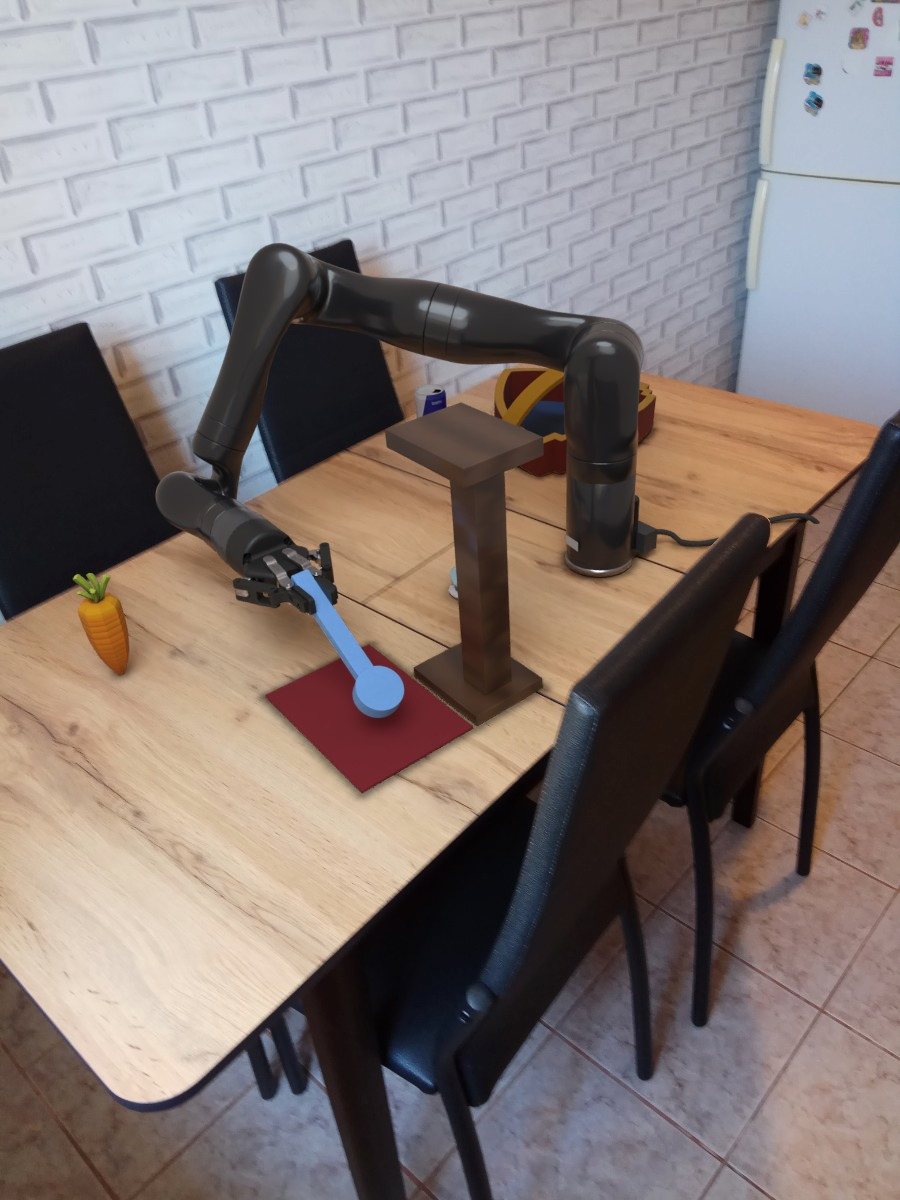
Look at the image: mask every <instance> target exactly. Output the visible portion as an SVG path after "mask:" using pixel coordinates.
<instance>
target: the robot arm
mask: <svg viewBox="0 0 900 1200" xmlns="http://www.w3.org/2000/svg"><path fill="white" fill-rule="evenodd" d="M235 313H236V314H235V317H234V322H233V324H232V329H231V333H230V336H229V339H228V343H227V346H226V350H225V352H224V353H225V354H224V357H223V361H222V363H221V366H220V369H219V372H218V374H217V378H216V381H215V382H214V386H213V388H212V391H211V393H210V396H209V398H208V401H207V403H206V405H205V408H204V410H203V412H202V415H201V417H200V420H199V423H198V425H197V427H196V430H195V432H194V435H193V438H192V441H191V451H192V453H193V454H194V455H195V456H196V457H197V458H198V459H200V460H201V461H202V462H205V463H207V464H209V465H210V466H211V469H212V472H211V476H210V478H209V477H206V476H203V475H199V474H195V473H191V472H187V471H180V470H179V471H172V472H169V473H168V474H167V475H164V477H163V478H161V480H160V481H159V482H158V484H157V486H156V490H155V495H154V497H155V498H154V499H155V505H156V509H157V510H158V512H159V514H160V515H161V518H163V519H164V520H165V521H166V522H167V523H169V524H171V525H172V526H174V527H175V528H177V529H179V530H180V531H183V532H184V533H187V534H189V535H191V536H194V537H196V538H197V539H199V540H201V541H203V542H204V543H205V545H207V546H208V547H209V548H210V549H212V550H213V551H214V552H215V553H216V554H217V555H218V557H219V558H220V559H221V561H223V563H225V564H226V565H227V566H228V567H230V568H231V569H232V570H233V571H234V572H236V573H237V574H238V575H239V576H240V577H235V578H234V579H232V580H231V582H232V586H233V590H234V594H235V595H234V596H235V599H236V600H237V601H239V602H242V603H246V604H247V603H248V604H253V605H255V606H261V607H266V608H270V609H278V608H280V607H281V606H282V604H285V603H286V604H287V605H288V606H293V607H294V608H295V609H297V610H298V611H299V612H300V613H302V614H308V615H309V616H312V615H313V614H315V613H317V611H316V605H315V600H314V598H313V597H312V596H311V595H310V594H308V593H307V592H306V591H305V590H303V589H302V588H301V587H300V586H298V585H297V586H294V583H293V582H292V581H291V576H292V575H295V574H297V573H300V572H302V571H304V570H307V569H308V570H309V571H310V573H311V574H312V576H313V577H314V579H315V581H316V582H317V584H318V585H319V587H320V588H321V590H322V591H323V593H324V594H325V596H326V597H327V599H328V600H329V602H330V603H331V604H332V605H333V606H335V605H337V604H338V599H339V593H338V587H337V585H336V584H335V575H334V569H333V567H334V566H333V561H332V553H331V548H330V547H331V546H330V543H329V542H327V541H325V542H321V543H320V544H319V545H318V548H317V549H308V548H307V547H305V546H303V545H298V544H296V542H294V540H293V538H291V537H290V535H289V534H288V533H286V532H285V531H283V530H282V529H280V528H279V527H278V526H277V525H275V524H273V522H271V521H270V520H269V519H267V518H266V517H265V516H263V515H262V514H260V513H258V512H256V511H253V510H251V509H250V508H249V507H247V506H246V505H244V503H242V502H241V501H239V500H238V492H239V483H240V476H241V471H242V465H243V460H244V457H245V455H246V453H247V450H248V448H249V446H250V443H251V441H252V438H253V436H254V433H255V431H256V429H257V426H258V425H259V421H260V417H261V416H262V415H261V414H262V412H263V407H264V401H265V397H266V391H267V386H268V379H269V375H270V371H271V366H272V364H273V361H274V357H275V355H276V353H277V350H278V347H279V345H280V343H281V341H282V339H283V337H284V336H285V334H286V332H287V330H288V329H289V327H290V326H291V324H295V325H310V326H317V327H324V328H326V327H327V328H332V329H333V328H334V329H340V330H345V331H351V332H356V333H358V334H359V333H360V334H362V335H366V336H368V337H370V338H373V339H375V340H377V341H380V342H382V343H384V344H387V345H390V346H393V347H396V348H398V349H401V350H404V351H407V352H410V353H414V354H416V355H420V356H424V357H429V358H432V359H436V360H440V361H444V362H449V363H453V364H459V365H472V366H480V365H481V366H483V365H486V366H487V365H504V364H505V365H506V364H507V365H508V364H526V365H533V366H538V367H541V368H550V369H553V370H557V371H560V372H563V373H564V430H565V435H566V440H567V454H566V472H565V473H566V475H565V477H566V479H565V480H566V481H565V486H566V487H565V488H566V489H565V492H566V493H565V494H566V495H565V496H566V497H565V551H564V561H565V564H566V566H567V567H568V568H569V569H571V570H572V571H573V572H575V573H577V574H578V575H579V574H580V575H583V576H586V577H595V578H605V577H606V578H607V577H612V576H616V575H620V574H622V573H624V572H625V571H627V570H629V568H630V567H631V565H632V564H633V559H634V558H636V557H637V554H638V553H637V552H639V553H641V554H642V555H645V554H648V553H649V552H651V551H654V550H655V549H656V548H657V542H658V541H657V539H658V535H661V536H667V537H670V538H672V539H673V540H674V541H675V542H676V543H677V544H678V545H681V546H686V547H696V548H697V547H707V546H712V544H713V543H714V542H715V541H716V540H717V539H718V538H719V537H716V538H711V539H705V540H690V539H689V540H688V539H683V538H681V537H680V536H679V535H678V534H677V533H675V532H674V531H672V530H669V529H664V528H656V527H654V526H652V525H650V524H647V523H646V522H643V521H642V520H639V516H640V501H641V500H640V496H639V495H638V494H636V483H637V462H638V448H639V447H638V446H639V442H638V406H639V388H640V382H641V374H642V373H641V372H642V369H643V364H644V359H645V358H644V357H645V350H644V349H645V348H644V343H643V340H642V339H641V337H640V335H639V334H638V332H637V331H636V330H635V329H634V328H633V327H631V326H630V325H629V324H627V323H626V322H624V321H621V320H619V319H616V318H612V317H611V318H610V317H604V316H598V315H597V316H596V315H589V314H579V313H573V312H572V313H571V312H563V311H557V310H549V309H545V308H539V307H535V306H532V305H528V304H525V303H521V302H519V301H514V300H510V299H507V298H504V297H499V296H495V295H490V294H486V293H482V292H480V291H475V290H472V289H469V288H465V287H459V286H456V285H452V284H449V283H443V282H438V281H433V280H426V279H419V278H408V277H407V278H406V277H386V276H385V277H383V276H381V277H380V276H371V275H368V274H367V275H366V274H362V273H359V272H355V271H352V270H349V269H346V268H343V267H339V266H337V265H334V264H331V263H329V262H325V261H324V260H321V259H318V258H317V257H315V256H312V255H311V254H310V253H307V252H305V251H304V250H302V249H300V248H298V247H295V246H293V245H291V244H288V243H283V242H274V243H269V244H267V245H264V246H262V247H261V248H259V249H258V250H257V251H256V252H255V253H254V254H253V256H252V257H251V259H250V261H249V262H248V265H247V267H246V271H245V273H244V277H243V281H242V286H241V291H240V294H239V300H238V304H237V309H236V312H235ZM767 518H768V519H769V520H770V522H771V523H770V524H772V523H776V522H781V521H787V520H792V519H803V520H806V521H809V522H811V523H812V524H814V525H819V524H820V523H821V522H820V521H819V520H818V519H817V518H816V517H814V516H812V515H811V514H808V513H804V512H791V513H784V514H781V515H775V516H771V517H767ZM713 545H714V544H713ZM311 561H313V562H314V563H315V564H317V565H318V568H317V567H316V566H314V565H313V564H312V563H311ZM319 568H320V569H319ZM264 594H267V596H266V595H264Z"/></svg>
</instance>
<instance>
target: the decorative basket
mask: <svg viewBox="0 0 900 1200" xmlns="http://www.w3.org/2000/svg"><path fill="white" fill-rule="evenodd" d="M494 388H495V389H494V395H493V397H494V398H493V399H494V402H493V403H494V405H493V407H494V408H493V411H494V413H493V414H494V415H493V416H494V417H497V418H499V419H502V420H504V421H506V422H509V423H511V424H513V425H516V426H518V427H520V428H523V429H525V430H528V431H530V432H532V433H535V434H537V435H539V436H542V437H543V456H541V457H539V458H536V459H534V460H531V461H529V462H527V463H524V464H522V465H520V466H519V467H520V468H521V469H523V470H524V471H526V472H528V473H529V474H531V475H533V476H536V477H537V478H541V477H543V476H546V475H548V474H551V473H555V474H558V475H560V474H564V473H566V454H567V440H566V435H565V430H564V373H563V372H560V371H557V370H553V369H550V368H546V367H517V368H516V367H514V368H504V369H503V370H502V371H501V373H500V375H499V376H498V378H497V381H496V383H495V387H494ZM656 402H657V395H655V394H653V389H650V384H649V383H646V382H643V381H640V388H639V406H638V443H640V442H641V441H642V440H643V439H644V438H645V437H646V436H647V435H648V434H649V433H650V432H651V430H652V429H653V427H654V418H655V410H656Z"/></svg>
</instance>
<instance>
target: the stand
mask: <svg viewBox="0 0 900 1200" xmlns="http://www.w3.org/2000/svg"><path fill="white" fill-rule="evenodd" d="M384 435H385V445H386V448H387V449H389V450H390V451H393V452H394V453H396V454H398V455H400V456H402V457H404V458H406V459H408V460H410V461H412V462H413V463H416V464H417V465H420V466H422V467H423V468H425V469H427V470H429V471H431V472H433V473H435V474H437V475H439V476H440V477H443V478H445V479H446V480H448V481H449V489H450V503H451V506H450V507H451V517H452V532H453V533H452V534H453V545H454V547H453V548H454V559H455V567H456V576H457V589H456V591H457V592H458V599H457V602H458V603H457V605H458V617H459V629H460V630H459V632H460V642H459V643H457V644H455V645H453V646H450V647H449V648H447V649H445V650H444V651H441V652H440V653H437V654H435V655H434V656H432V657H430V658H428V659H426V660H425V661H422V662H420V663H419V664H417V665H415V666H413V667H412V669H413V677H414V678H415V679H416V680H417V681H418V682H420V683H421V684H422V685H424V686H425V687H426V688H428V689H429V690H431V691H432V692H433V693H434V694H435V695H437V696H438V697H439V698H440V699H442V700H443V701H444V702H446V703H447V704H448V705H450V706H451V707H452V708H454V710H455V711H457V712H458V713H459V714H461V715H462V716H464V717H465V718H466V719H467V720H469V722H471V723H472V724H474V725H475V726H476V727H478V726H480V725H482V724H483V723H485V722H486V721H488V720H490V719H492V718H493V717H495V716H498V714H500V713H502V712H505V710H507V709H509V708H511V707H512V706H514V705H515V704H517V703H519V702H521V701H523V700H524V699H526V698H527V697H529V696H531V695H533V694H535V693H537V692H538V691H540V690H542V689H543V677H542V676H540V675H538V674H537V673H536V672H534V671H533V670H531V669H530V668H529V667H526V665H524V664H522V663H521V662H520V661H518V660H516V659H515V658H514V657H512V653H511V652H512V650H511V622H510V621H511V620H510V619H511V618H510V592H509V591H510V588H509V587H510V586H509V564H508V563H509V562H508V561H509V560H508V534H507V533H508V532H507V531H508V529H507V504H506V502H507V500H506V477H505V475H506V473H505V472H508V471H510V470H512V469H514V468H517V467H520V465H522V464H524V463H527V462H529V461H531V460H534V459H536V458H539V457H541V456H543V437H542V436H539V435H537V434H535V433H532V432H530V431H528V430H525V429H523V428H520V427H518V426H516V425H513V424H511V423H509V422H506V421H504V420H502V419H499V418H497V417H494V415H492V414H489V413H488V412H485V411H483V410H480V409H478V408H475V407H474V406H471V405H468V404H466V403H464V402H458V403H455V404H452V405H450V406H447V408H444V409H441V410H438V411H435V412H433V413H430V414H427V415H424V416H422V417H419V418H417V417H416V418H414V419H411V420H408V421H405V422H403V423H399V424H397V425H394V426H391V427H389V428H386V429H384Z"/></svg>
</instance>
